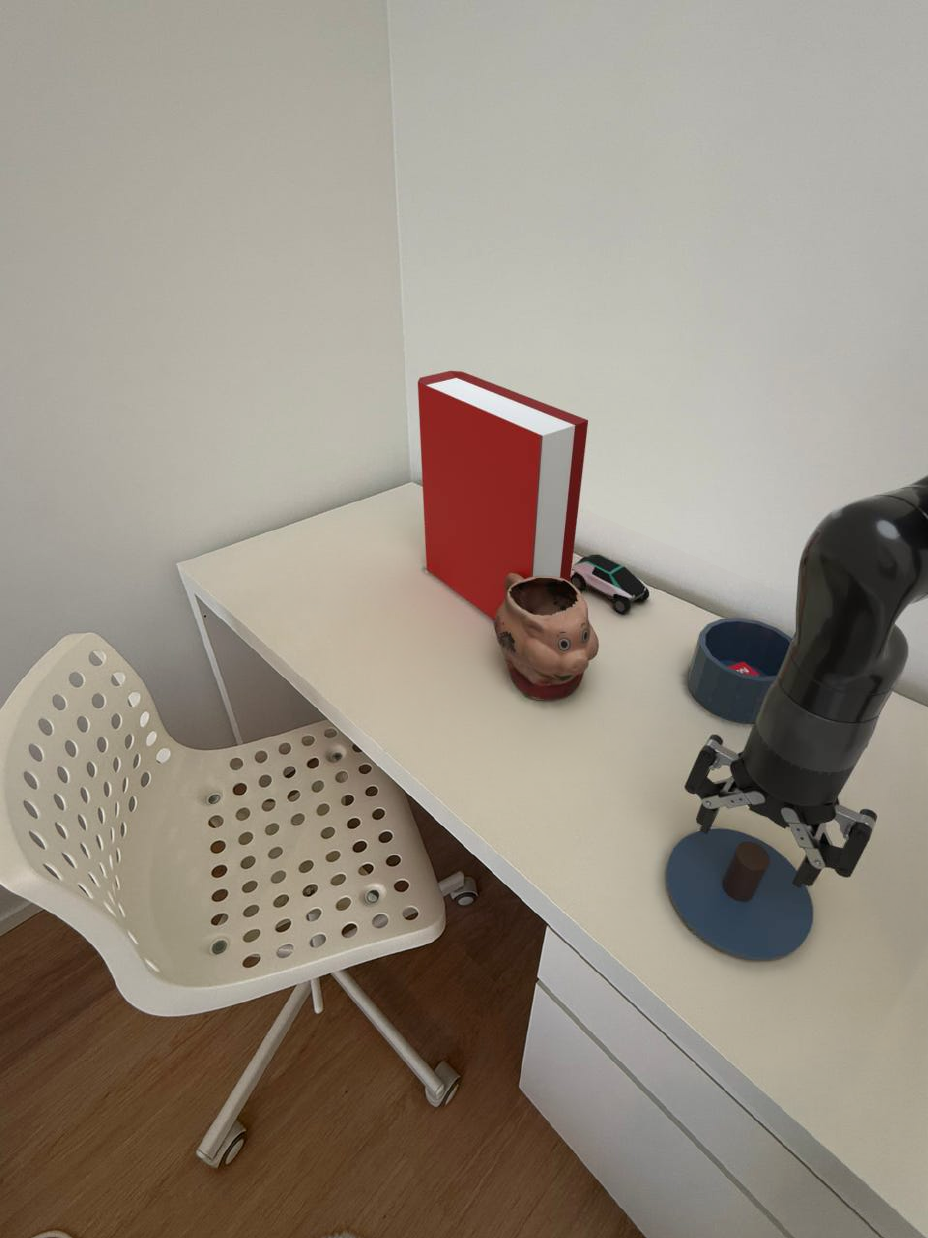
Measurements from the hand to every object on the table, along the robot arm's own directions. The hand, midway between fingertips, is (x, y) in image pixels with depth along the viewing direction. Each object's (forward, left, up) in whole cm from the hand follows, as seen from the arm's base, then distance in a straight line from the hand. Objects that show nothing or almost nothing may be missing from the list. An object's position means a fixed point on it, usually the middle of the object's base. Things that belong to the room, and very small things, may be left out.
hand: (751, 852), depth 60 cm
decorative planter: (+34, -15, -8) cm, 38 cm away
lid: (0, 0, -7) cm, 7 cm away
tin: (+11, -29, -7) cm, 32 cm away
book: (+51, -26, -8) cm, 58 cm away
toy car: (+36, -38, -8) cm, 53 cm away
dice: (+11, -29, -7) cm, 32 cm away
